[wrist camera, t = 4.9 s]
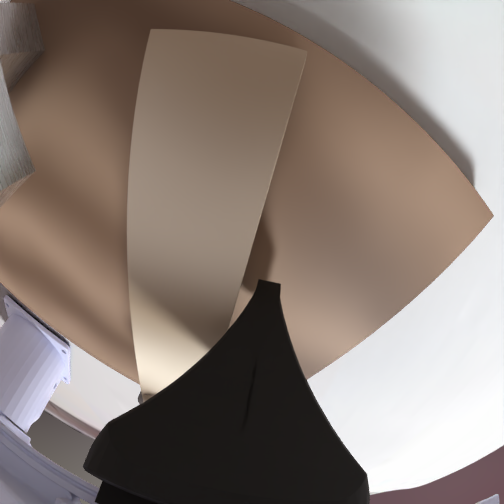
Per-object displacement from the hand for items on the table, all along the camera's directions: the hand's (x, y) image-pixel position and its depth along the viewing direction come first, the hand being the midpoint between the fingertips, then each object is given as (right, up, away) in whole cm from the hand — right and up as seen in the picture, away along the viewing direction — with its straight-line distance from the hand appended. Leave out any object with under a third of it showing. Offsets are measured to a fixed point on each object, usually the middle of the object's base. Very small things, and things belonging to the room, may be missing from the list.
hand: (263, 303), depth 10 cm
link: (-2, 0, +1) cm, 2 cm away
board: (-6, +3, +2) cm, 7 cm away
